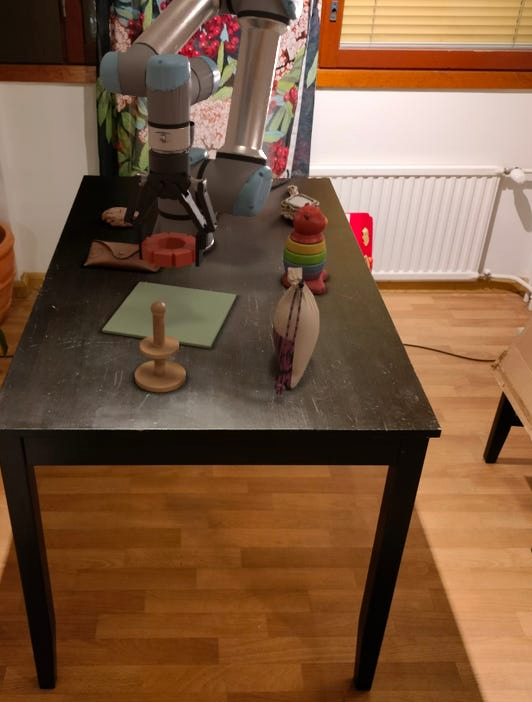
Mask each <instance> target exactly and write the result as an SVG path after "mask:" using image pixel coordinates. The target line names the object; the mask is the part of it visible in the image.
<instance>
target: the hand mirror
mask: <svg viewBox="0 0 532 702" xmlns="http://www.w3.org/2000/svg"><path fill="white" fill-rule="evenodd" d="M298 189H299V188H298V186H297V185H294V184H290V185H288V186H287V187H286V191H287V192H288V193H289V195H290V196H289V197H287V198H286V199H284V200H282V201H281V202H280V208H279V210H278V211H279V214H280V215H281V216H282V217H284V218H285V219H287V220H291V221H293V216H294V213H295V212H296V211H297V209H299V208H300V207H302V206H304V205H305V204H306V203H307V202H309V205H312V206H316V207H318V208H319V209H320V202H319V201H318V200H316V199H315V198H313V197H310V196H307V195H306V194H305V193H304V194H303V193H299V191H298Z"/></svg>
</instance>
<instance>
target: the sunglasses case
mask: <svg viewBox="0 0 532 702" xmlns="http://www.w3.org/2000/svg"><path fill="white" fill-rule="evenodd" d="M83 266H84V267H97V268H104V269H105V268H106V269H107V268H108V269H115V270H124V271H132V272H151V273H152V272H154V273H155V272H158V271H159V270H160V269H161V268H162V267H160V266H154V263H153V264H149V263H148V262H147V261H146V260H144V259H143V260H141V259H139V244H137V243H136V244H135V243H126V242H125V243H124V242H116V241H115V242H114V241H113V242H112V241H103V240H98V239H93V240H92V241H91V246H90V248H89V253H88V255H87V259H86V261H85V263H84V264H83Z"/></svg>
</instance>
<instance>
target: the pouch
mask: <svg viewBox="0 0 532 702" xmlns="http://www.w3.org/2000/svg"><path fill="white" fill-rule="evenodd" d="M287 276H288V282H289V283H290V284H291V287H290V288H289V287H288V289H287V290H286V291H285V293H284V294H283V295H282V297H281V298H280V300H279V301H278V303H277V305H276V308H275V310H274V314H273V319H272V339H273V344H274V350H275V353H276V354H275V355H276V359H277V363H278V367H279V372H278V373H279V374H278V381H277V383H276V384H274V390H275V395H276V396H278V395H279V396H282V395H283V392H284V391H286V387H287V388H288V389H294V388H295V387H297V385H298V384H299V382H300V380H301V379H302V377H303V375H304V373H305V371H306V369H307V366H308V365H309V362H310V361H311V358H312V356H313V353H314V350H315V348H316V345H317V341H318V339H319V338H318V337H319V334H320V328H321V327H320V310H319V308H318V304H317V301H316V299H315V296H314V294H312V293H311V291H310V290H309V289H308V287H307V286H306V283H305V281H304V280H302V268H291V267H289V268H288V272H287Z"/></svg>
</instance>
